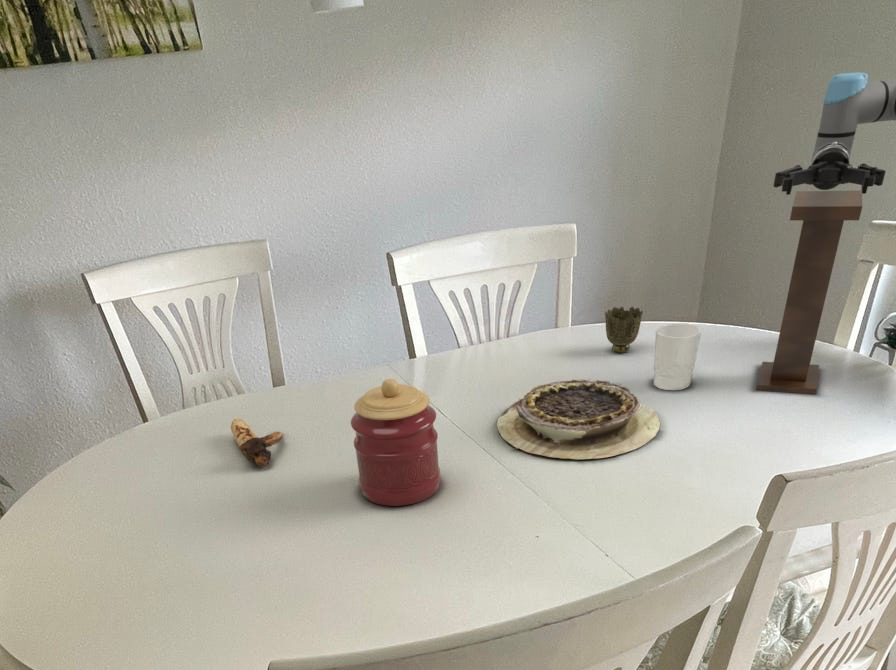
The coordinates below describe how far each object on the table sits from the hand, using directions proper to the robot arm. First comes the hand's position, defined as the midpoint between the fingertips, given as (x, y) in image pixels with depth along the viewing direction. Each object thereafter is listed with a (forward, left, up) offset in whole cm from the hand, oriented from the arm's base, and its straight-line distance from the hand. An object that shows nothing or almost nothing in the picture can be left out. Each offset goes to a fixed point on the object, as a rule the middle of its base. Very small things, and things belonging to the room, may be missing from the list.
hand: (827, 186), depth 153 cm
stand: (0, +35, -26) cm, 43 cm away
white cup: (+20, +41, -26) cm, 52 cm away
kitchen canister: (+54, +92, -26) cm, 110 cm away
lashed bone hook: (+85, +85, -26) cm, 123 cm away
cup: (+33, +25, -26) cm, 49 cm away
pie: (+33, +63, -26) cm, 75 cm away
